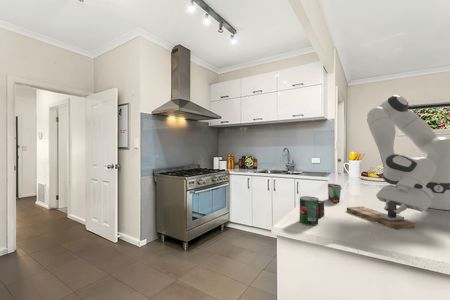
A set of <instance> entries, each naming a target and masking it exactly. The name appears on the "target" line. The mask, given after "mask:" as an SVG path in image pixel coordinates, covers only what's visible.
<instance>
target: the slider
mask: <svg viewBox="0 0 450 300" xmlns="http://www.w3.org/2000/svg"><path fill="white" fill-rule="evenodd" d="M395 208H397V205H396V202H388V211H387V213H385V214H382V215H380V217H381V218H384V219H387V220H390V221H396V220H405V217H404V216H403V215H400V214H396V213H394V212H393V211H394V210H395Z"/></svg>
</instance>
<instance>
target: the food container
mask: <svg viewBox="0 0 450 300" xmlns="http://www.w3.org/2000/svg"><path fill="white" fill-rule="evenodd" d="M342 190H343V188H342V185H340V184H335V183H328V184H327V196H328V197H327V199H328V200H329V201H330V202H331V203H332V204H339V203H340V202H341V201H340V199H341V191H342Z"/></svg>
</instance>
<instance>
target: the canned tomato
mask: <svg viewBox="0 0 450 300" xmlns="http://www.w3.org/2000/svg"><path fill="white" fill-rule="evenodd" d="M318 200H320V199H319V198H318V197H315V196H309V195H308V196H307V195H306V196H299V223H300V224H302V225H303V226H310V227H313V226H314V227H315V226H318V225H319V218H318Z"/></svg>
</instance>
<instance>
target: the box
mask: <svg viewBox="0 0 450 300" xmlns="http://www.w3.org/2000/svg"><path fill="white" fill-rule="evenodd" d="M323 217H325V201H324V200H320V199H319V200H318V219H322V218H323Z"/></svg>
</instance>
